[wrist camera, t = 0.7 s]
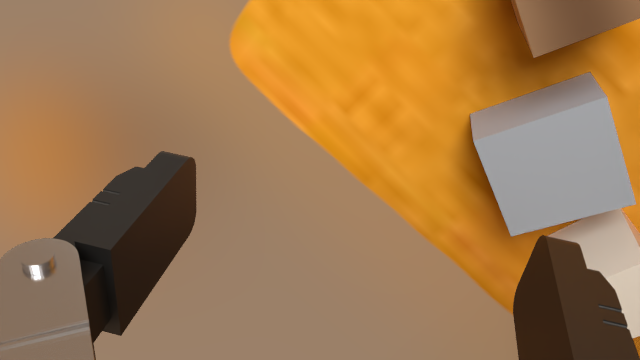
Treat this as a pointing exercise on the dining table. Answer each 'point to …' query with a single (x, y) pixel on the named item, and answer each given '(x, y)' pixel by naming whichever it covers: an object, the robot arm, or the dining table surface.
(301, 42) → the dining table surface
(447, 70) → the dining table surface
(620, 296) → the beige block
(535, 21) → the walnut block
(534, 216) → the base block
